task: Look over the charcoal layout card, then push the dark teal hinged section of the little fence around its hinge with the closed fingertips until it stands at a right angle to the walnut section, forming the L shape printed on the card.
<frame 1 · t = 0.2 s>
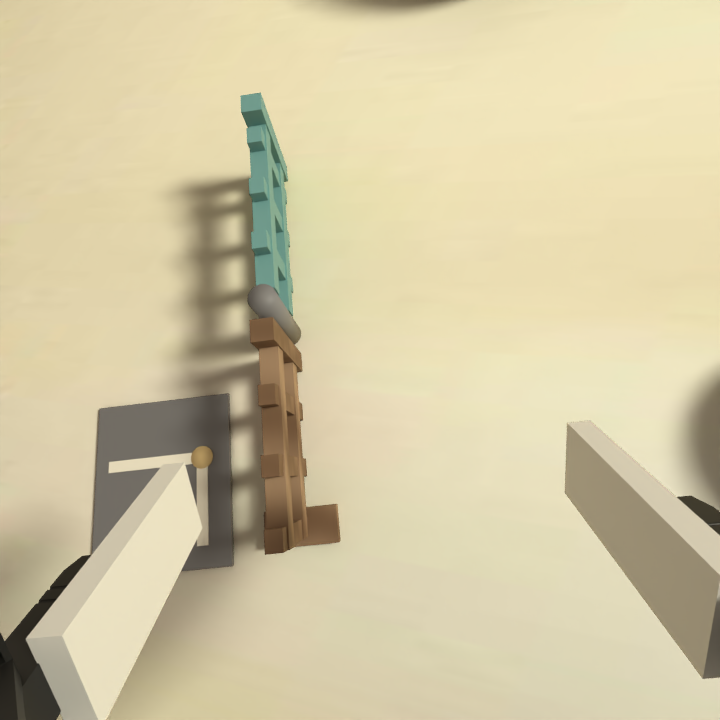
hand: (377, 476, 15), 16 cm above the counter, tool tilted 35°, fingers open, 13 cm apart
fence b: (271, 226, 32), point 4 cm above the counter, hinge at 0.0°
layout card: (164, 482, 32), on the counter
fence a: (297, 440, 32), on the counter
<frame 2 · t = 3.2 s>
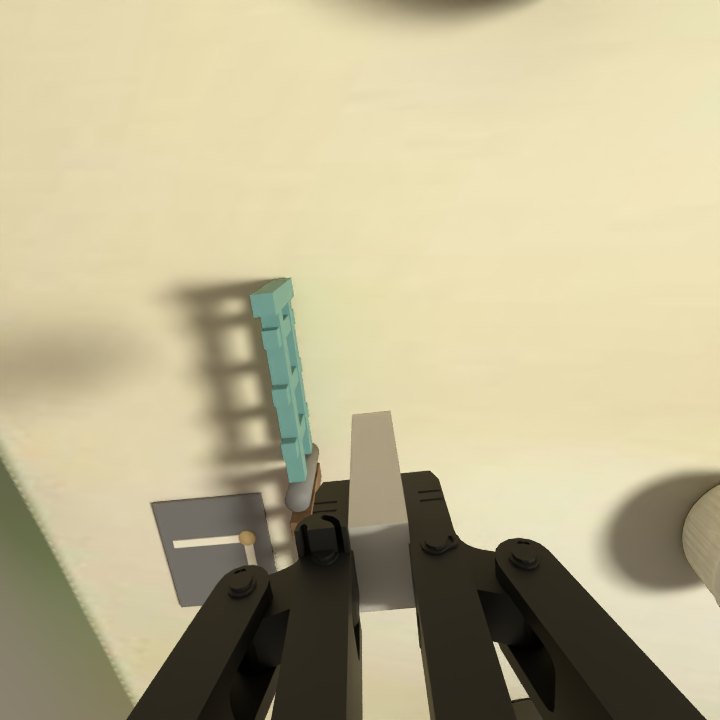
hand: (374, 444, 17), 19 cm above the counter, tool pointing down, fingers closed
fence b: (290, 392, 33), point 4 cm above the counter, hinge at 0.0°
layout card: (219, 551, 42), on the counter
fence a: (320, 524, 41), on the counter
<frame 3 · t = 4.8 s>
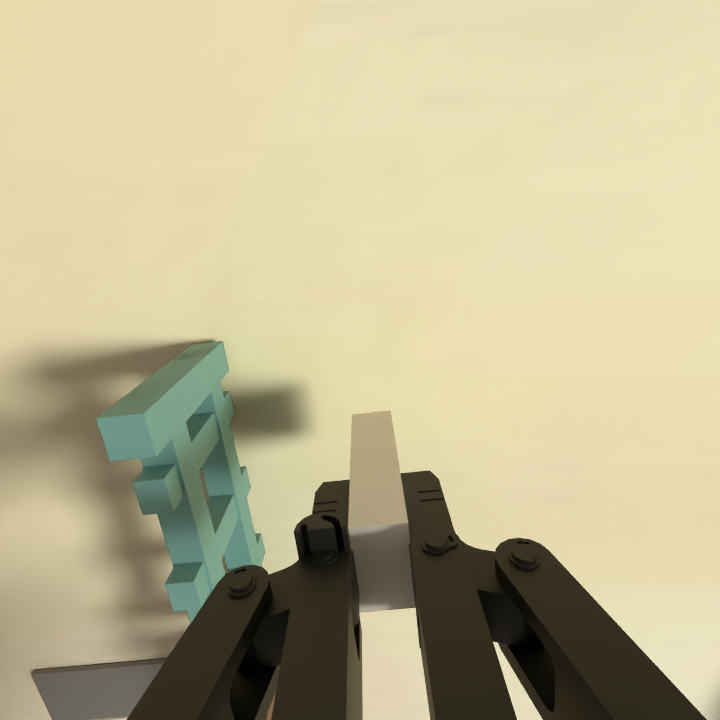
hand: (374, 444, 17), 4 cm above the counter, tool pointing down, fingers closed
fence b: (219, 548, 19), point 4 cm above the counter, hinge at 0.0°
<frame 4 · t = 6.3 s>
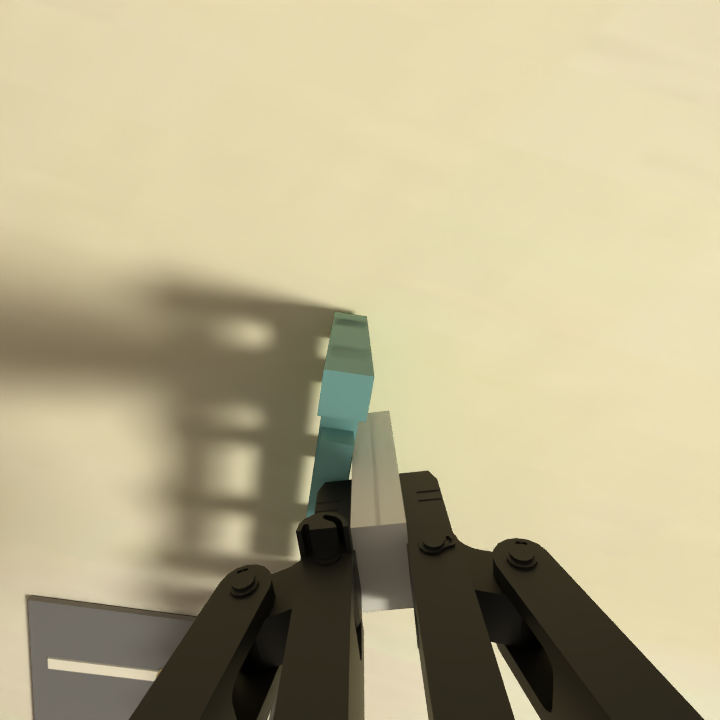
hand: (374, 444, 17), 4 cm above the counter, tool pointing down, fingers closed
fence b: (321, 521, 18), point 4 cm above the counter, hinge at 1.7°, touching gripper
layout card: (121, 683, 27), on the counter
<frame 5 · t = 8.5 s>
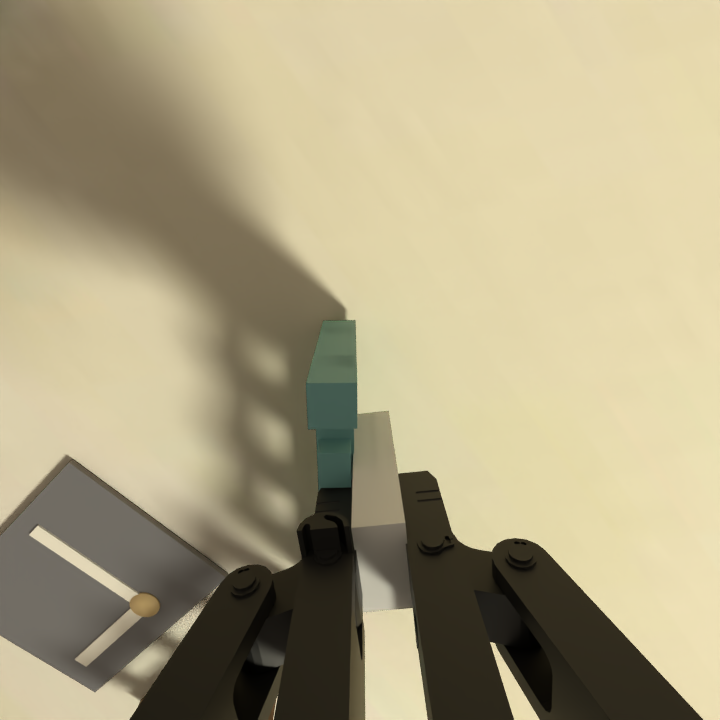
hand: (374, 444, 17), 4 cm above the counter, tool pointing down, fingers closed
fence b: (340, 530, 18), point 4 cm above the counter, hinge at 46.1°, touching gripper
layout card: (86, 584, 24), on the counter
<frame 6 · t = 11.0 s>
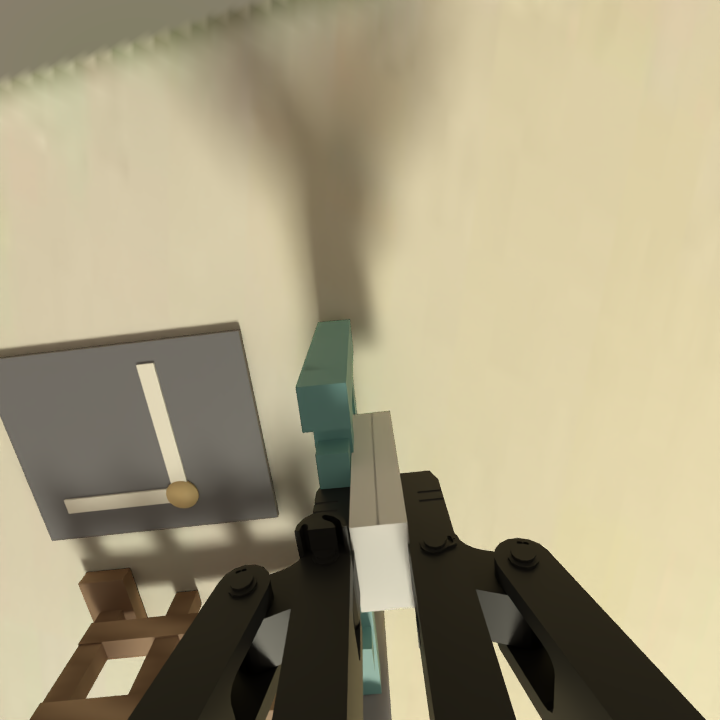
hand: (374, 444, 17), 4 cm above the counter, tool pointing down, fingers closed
fence b: (351, 529, 18), point 4 cm above the counter, hinge at 88.8°, touching gripper
layout card: (140, 441, 22), on the counter
fence a: (224, 594, 25), on the counter
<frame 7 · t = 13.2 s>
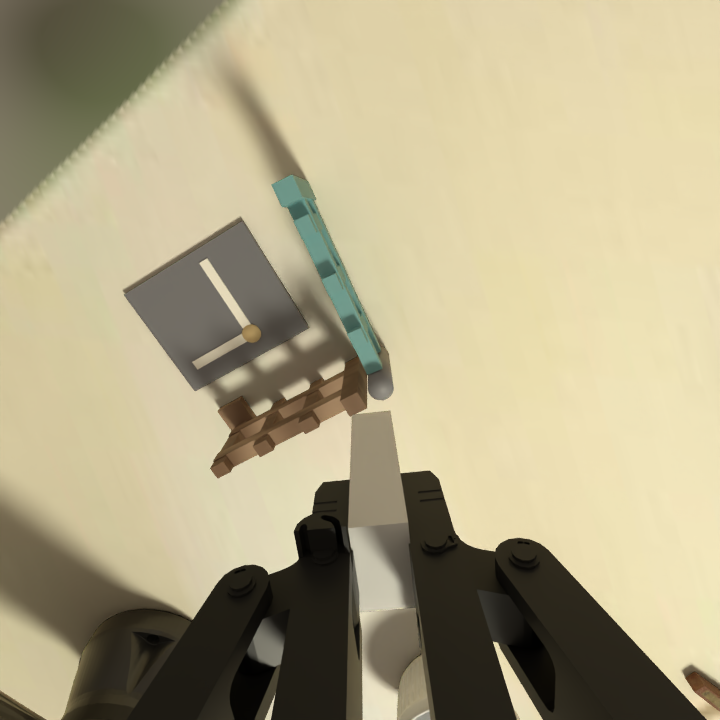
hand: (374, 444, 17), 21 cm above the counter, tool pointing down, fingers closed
fence b: (341, 289, 32), point 4 cm above the counter, hinge at 84.8°
ramekin: (447, 677, 52), on the counter
layout card: (218, 310, 37), on the counter
fence a: (300, 395, 40), on the counter
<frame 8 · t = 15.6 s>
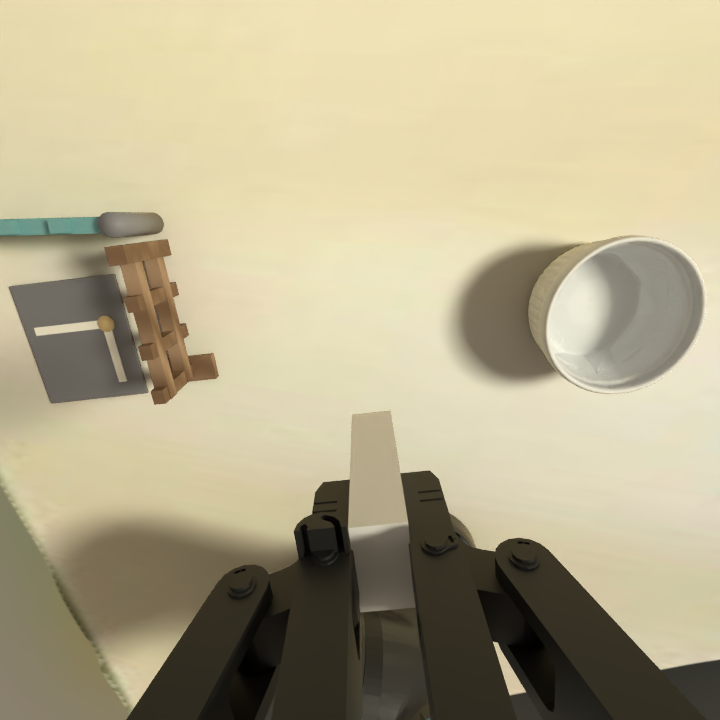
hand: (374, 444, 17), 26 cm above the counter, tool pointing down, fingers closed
fence b: (46, 226, 36), point 4 cm above the counter, hinge at 84.8°
ramekin: (583, 304, 43), on the counter
layout card: (82, 341, 43), on the counter
fence a: (177, 309, 42), on the counter
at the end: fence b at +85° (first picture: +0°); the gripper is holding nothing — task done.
